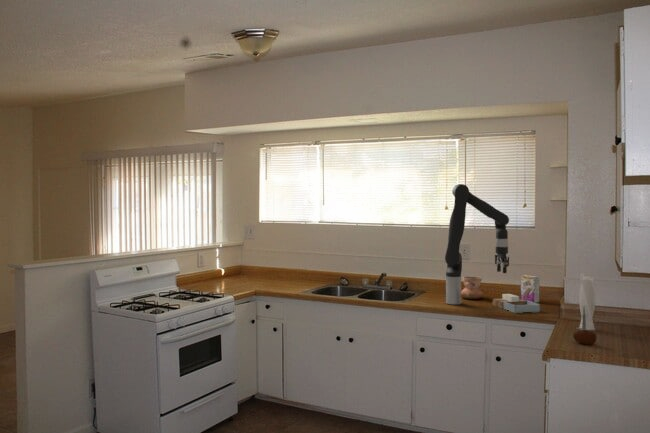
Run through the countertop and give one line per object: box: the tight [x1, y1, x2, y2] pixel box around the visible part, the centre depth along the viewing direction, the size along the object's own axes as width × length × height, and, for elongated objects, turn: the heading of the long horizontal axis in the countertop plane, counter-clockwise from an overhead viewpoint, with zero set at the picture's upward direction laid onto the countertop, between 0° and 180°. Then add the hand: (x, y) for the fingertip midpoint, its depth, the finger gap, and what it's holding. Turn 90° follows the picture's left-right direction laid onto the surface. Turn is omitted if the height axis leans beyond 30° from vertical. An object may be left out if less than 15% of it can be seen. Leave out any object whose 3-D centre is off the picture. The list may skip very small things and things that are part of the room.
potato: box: [572, 330, 598, 346], centre depth 252 cm, size 7×9×6 cm
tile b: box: [507, 294, 520, 302], centre depth 339 cm, size 5×5×3 cm
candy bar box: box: [520, 274, 540, 304], centre depth 359 cm, size 11×5×16 cm, turn 28°
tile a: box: [501, 293, 513, 300], centre depth 345 cm, size 5×5×3 cm
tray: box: [503, 301, 541, 314], centre depth 330 cm, size 13×16×4 cm
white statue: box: [576, 272, 597, 332], centre depth 282 cm, size 8×8×28 cm
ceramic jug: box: [461, 275, 484, 300], centre depth 373 cm, size 18×14×14 cm
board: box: [492, 297, 527, 310], centre depth 343 cm, size 13×16×4 cm
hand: (501, 272), depth 352 cm, fingers open, 6 cm apart
